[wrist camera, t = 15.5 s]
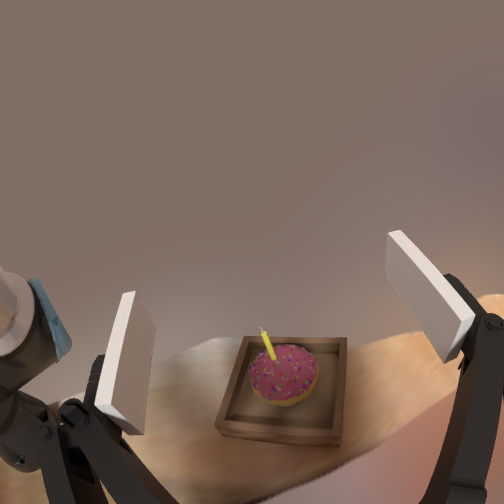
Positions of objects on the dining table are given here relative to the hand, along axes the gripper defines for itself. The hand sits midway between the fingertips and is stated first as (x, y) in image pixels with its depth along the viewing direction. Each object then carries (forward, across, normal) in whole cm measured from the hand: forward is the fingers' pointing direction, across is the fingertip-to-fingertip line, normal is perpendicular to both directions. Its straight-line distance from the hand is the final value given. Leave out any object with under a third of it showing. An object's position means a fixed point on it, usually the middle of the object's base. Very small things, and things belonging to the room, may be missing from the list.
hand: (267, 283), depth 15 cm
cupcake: (+10, 0, -27) cm, 29 cm away
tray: (+10, 0, -28) cm, 30 cm away
